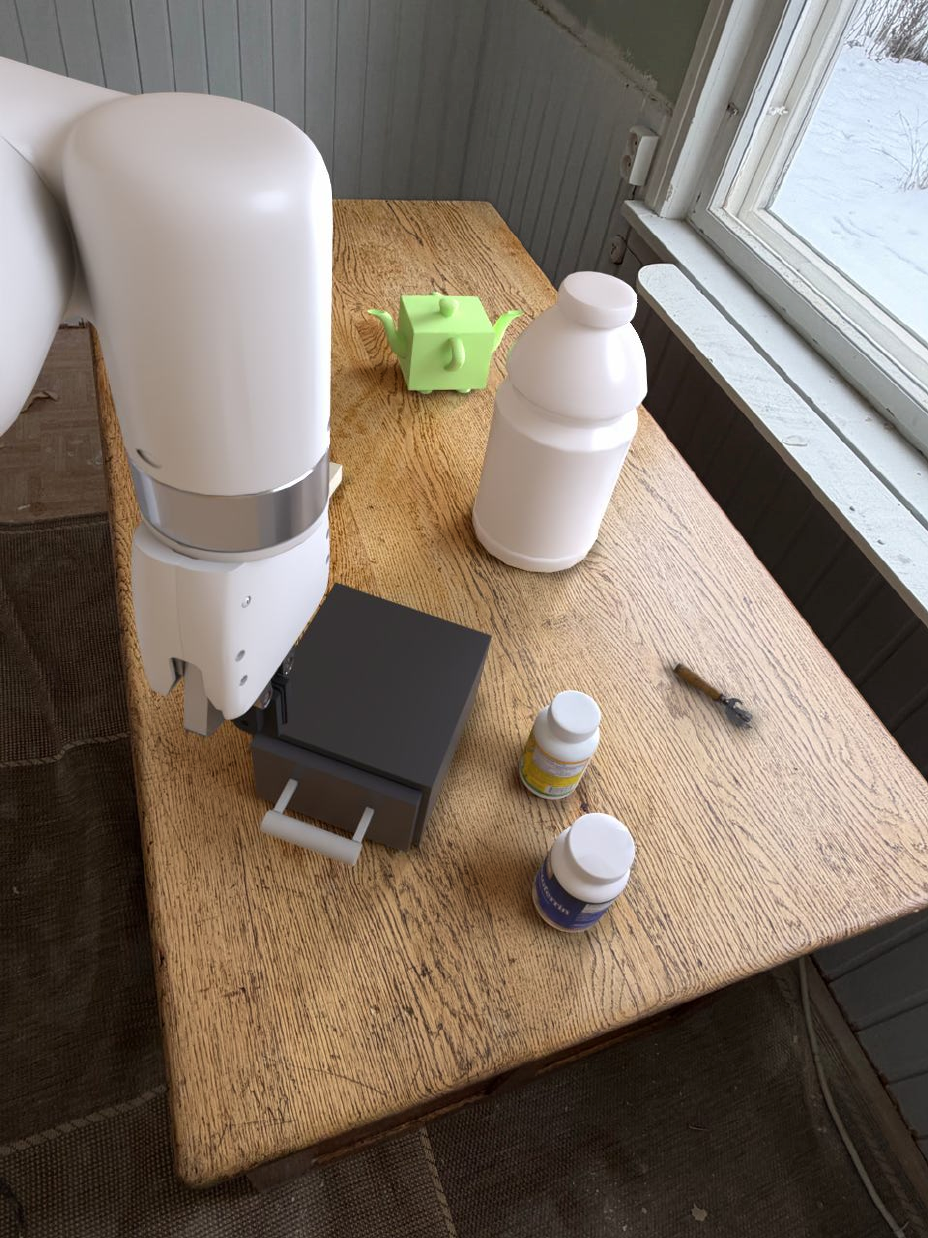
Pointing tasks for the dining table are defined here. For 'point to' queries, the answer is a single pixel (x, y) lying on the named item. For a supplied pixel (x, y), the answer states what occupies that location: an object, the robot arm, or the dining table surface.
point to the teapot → (444, 341)
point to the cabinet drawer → (330, 800)
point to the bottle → (561, 426)
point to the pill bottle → (583, 872)
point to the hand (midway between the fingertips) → (260, 719)
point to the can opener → (715, 695)
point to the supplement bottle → (560, 745)
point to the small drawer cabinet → (385, 690)
